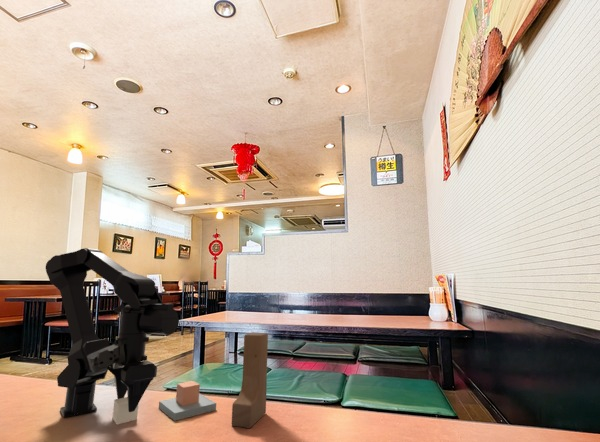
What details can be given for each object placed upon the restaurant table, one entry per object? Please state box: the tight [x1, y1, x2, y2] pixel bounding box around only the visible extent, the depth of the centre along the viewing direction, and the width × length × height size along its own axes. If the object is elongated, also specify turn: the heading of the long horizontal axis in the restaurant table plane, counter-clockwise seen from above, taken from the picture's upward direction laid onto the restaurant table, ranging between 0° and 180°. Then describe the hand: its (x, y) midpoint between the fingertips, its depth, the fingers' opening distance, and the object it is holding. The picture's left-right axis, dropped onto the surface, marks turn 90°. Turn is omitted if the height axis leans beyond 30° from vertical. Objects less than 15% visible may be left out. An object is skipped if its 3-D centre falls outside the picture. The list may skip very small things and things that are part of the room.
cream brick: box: [112, 396, 139, 425], centre depth 73 cm, size 4×4×4 cm
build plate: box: [158, 392, 217, 422], centre depth 79 cm, size 10×10×2 cm
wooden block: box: [231, 331, 269, 429], centre depth 75 cm, size 9×4×18 cm, turn 164°
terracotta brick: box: [175, 380, 201, 406], centre depth 80 cm, size 4×4×4 cm
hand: (125, 405), depth 73 cm, fingers open, 9 cm apart
